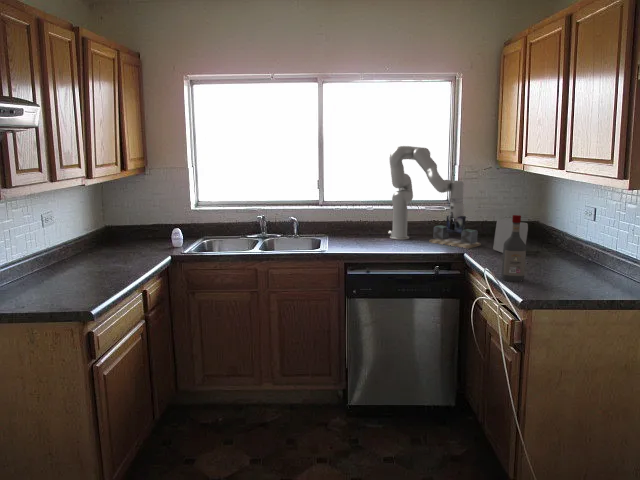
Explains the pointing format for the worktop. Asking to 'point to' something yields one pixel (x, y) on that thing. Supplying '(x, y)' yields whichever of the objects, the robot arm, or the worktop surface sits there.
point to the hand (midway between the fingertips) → (455, 228)
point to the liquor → (514, 254)
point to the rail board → (466, 239)
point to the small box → (456, 225)
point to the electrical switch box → (507, 233)
